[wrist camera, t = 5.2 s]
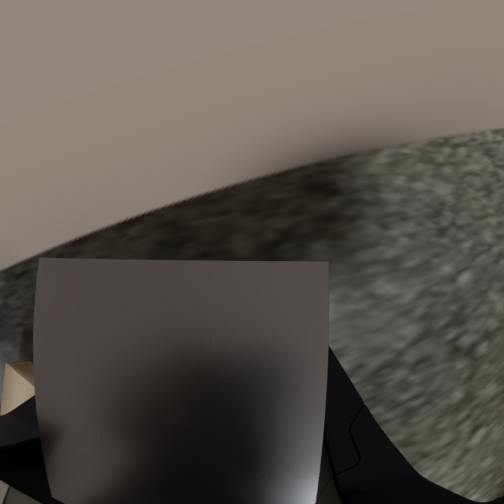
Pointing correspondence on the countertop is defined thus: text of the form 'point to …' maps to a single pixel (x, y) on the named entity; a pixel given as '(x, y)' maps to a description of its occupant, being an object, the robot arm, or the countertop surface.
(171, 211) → the countertop surface
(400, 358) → the countertop surface
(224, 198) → the countertop surface
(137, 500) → the tea tin
